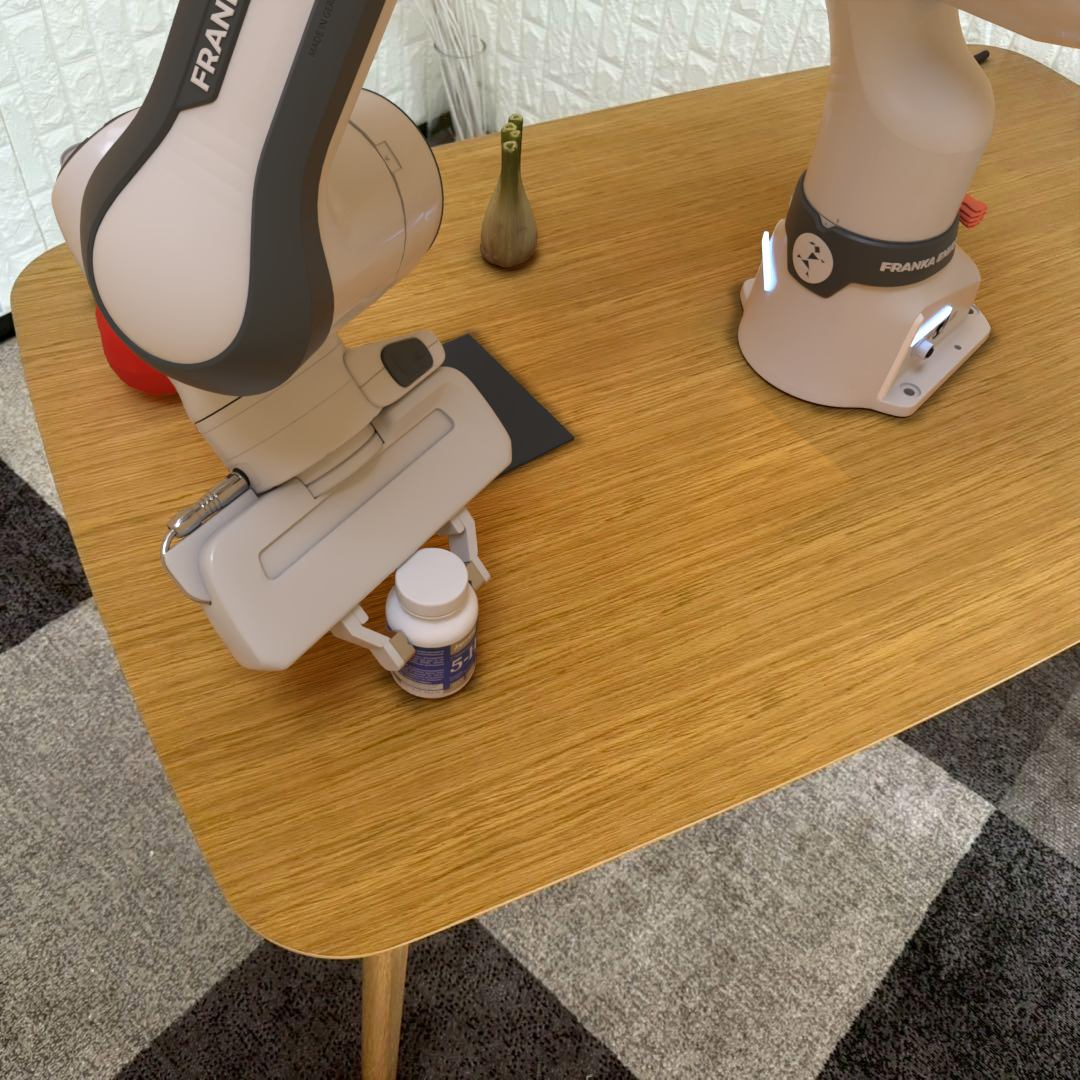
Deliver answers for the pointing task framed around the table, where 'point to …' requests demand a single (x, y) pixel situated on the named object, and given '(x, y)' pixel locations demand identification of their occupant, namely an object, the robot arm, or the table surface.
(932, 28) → the robot arm
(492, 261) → the fennel bulb
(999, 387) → the table surface
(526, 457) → the mat
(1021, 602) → the table surface
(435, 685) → the pill bottle
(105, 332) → the tomato
